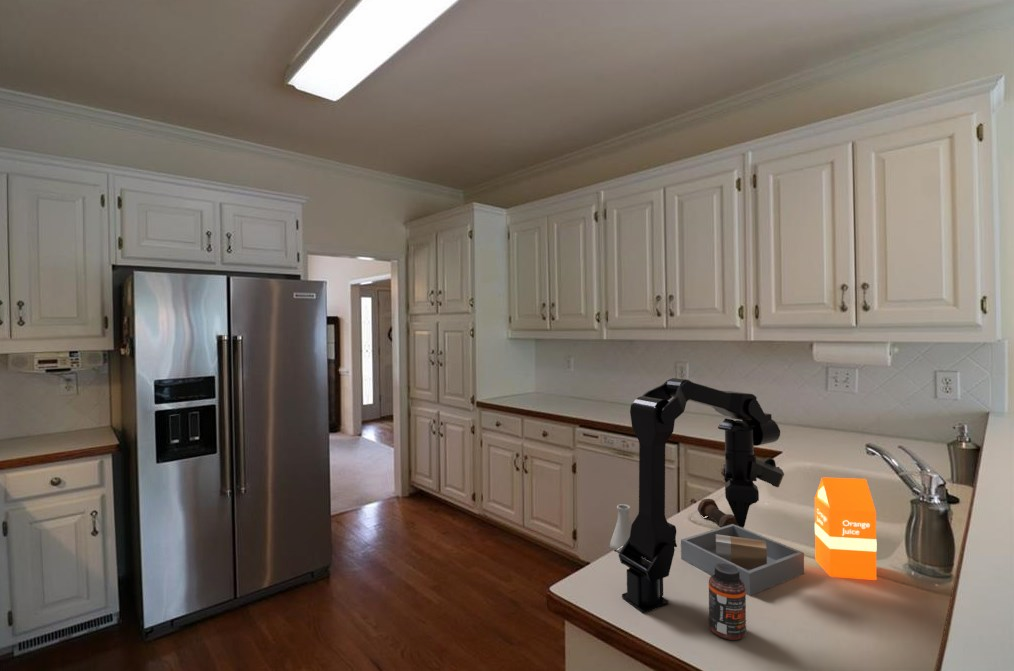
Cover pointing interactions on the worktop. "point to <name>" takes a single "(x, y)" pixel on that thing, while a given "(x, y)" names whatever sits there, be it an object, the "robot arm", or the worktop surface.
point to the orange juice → (845, 528)
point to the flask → (621, 528)
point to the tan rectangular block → (742, 551)
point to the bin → (777, 570)
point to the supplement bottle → (727, 602)
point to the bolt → (715, 513)
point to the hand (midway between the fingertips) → (740, 518)
